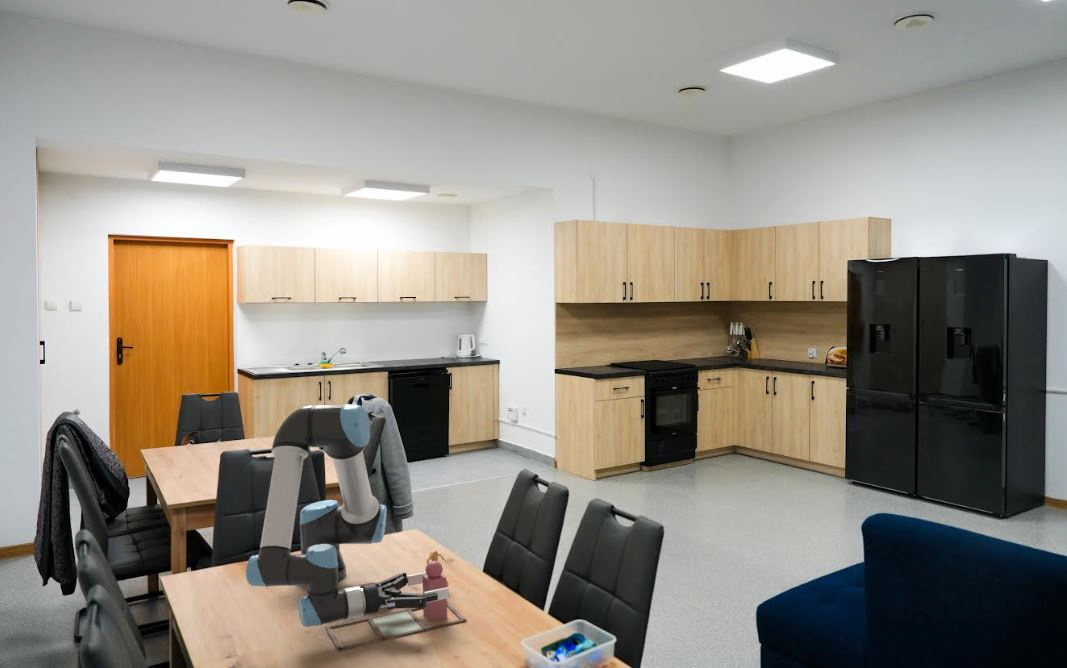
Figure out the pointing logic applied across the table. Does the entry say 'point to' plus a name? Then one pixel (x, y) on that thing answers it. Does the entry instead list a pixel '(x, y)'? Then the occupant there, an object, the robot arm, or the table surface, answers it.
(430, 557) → the figurine
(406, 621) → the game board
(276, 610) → the table surface
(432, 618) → the pawn
